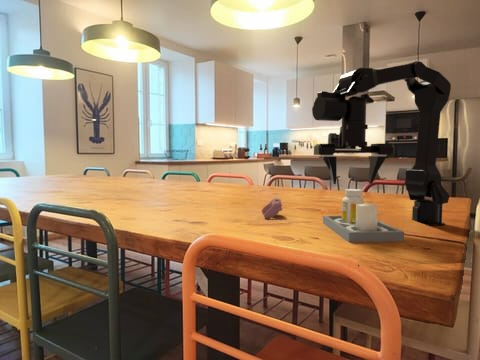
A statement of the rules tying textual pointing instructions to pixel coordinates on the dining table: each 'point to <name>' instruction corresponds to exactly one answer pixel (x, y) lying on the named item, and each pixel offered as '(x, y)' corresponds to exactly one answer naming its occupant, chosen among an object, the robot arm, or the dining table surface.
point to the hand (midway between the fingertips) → (352, 183)
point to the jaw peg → (366, 217)
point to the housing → (351, 235)
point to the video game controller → (272, 208)
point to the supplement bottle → (351, 205)
